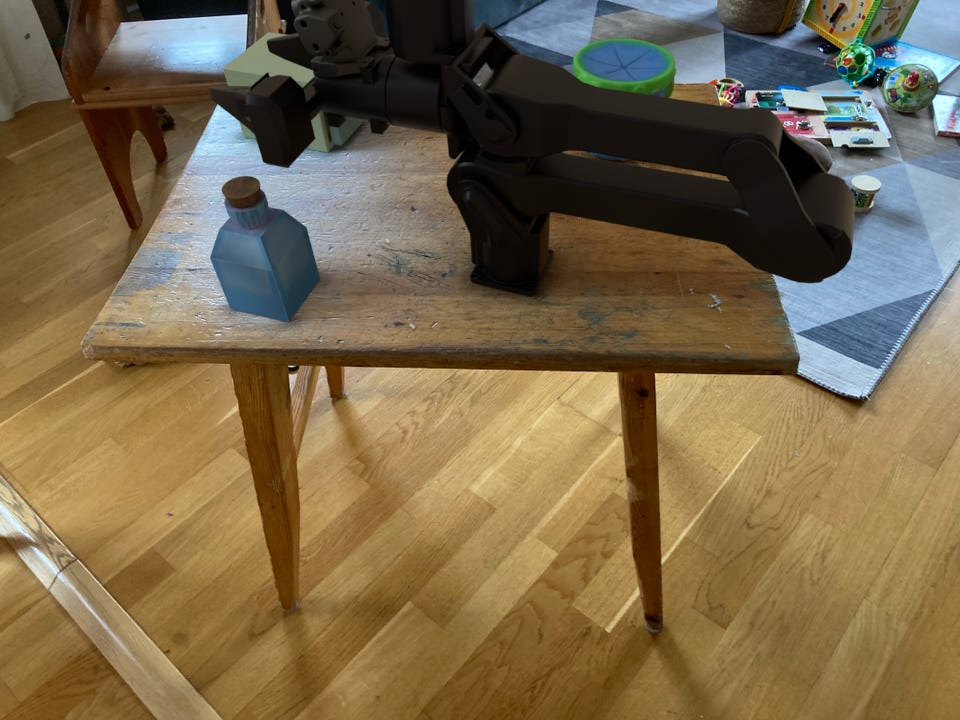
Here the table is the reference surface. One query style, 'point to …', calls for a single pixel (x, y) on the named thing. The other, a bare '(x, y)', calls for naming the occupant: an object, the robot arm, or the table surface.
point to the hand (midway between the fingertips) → (240, 68)
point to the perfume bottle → (262, 254)
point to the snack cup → (626, 69)
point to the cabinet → (262, 61)
